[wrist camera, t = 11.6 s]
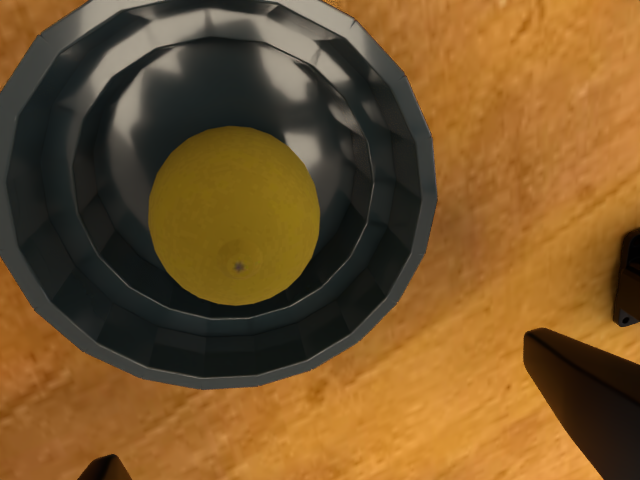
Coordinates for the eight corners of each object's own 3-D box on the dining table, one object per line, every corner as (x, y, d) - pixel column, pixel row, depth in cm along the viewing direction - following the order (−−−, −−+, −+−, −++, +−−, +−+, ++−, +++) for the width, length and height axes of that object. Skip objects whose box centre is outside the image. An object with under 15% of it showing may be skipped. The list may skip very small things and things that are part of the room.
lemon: (163, 104, 16) (114, 151, 9) (306, 117, 18) (361, 168, 10) (167, 236, 18) (129, 358, 11) (293, 240, 20) (331, 351, 13)
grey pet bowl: (357, -42, 16) (414, -81, 11) (399, 265, 22) (449, 329, 17) (-18, 39, 15) (-139, 37, 10) (136, 341, 21) (109, 432, 16)
